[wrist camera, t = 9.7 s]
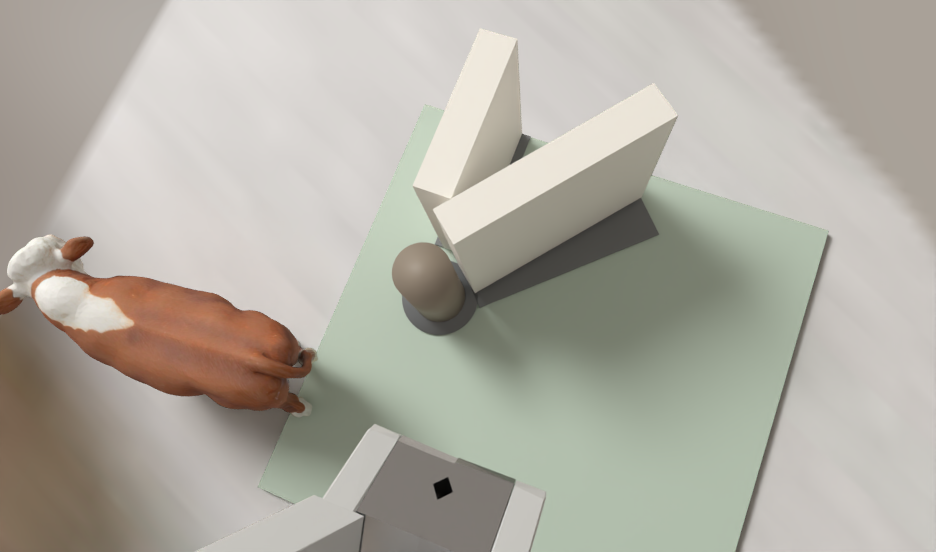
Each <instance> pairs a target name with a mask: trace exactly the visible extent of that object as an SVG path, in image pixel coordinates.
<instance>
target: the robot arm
mask: <svg viewBox="0 0 936 552" xmlns="http://www.w3.org/2000/svg"><path fill="white" fill-rule="evenodd" d="M515 480H516V479H514V478H511V477H508V476H506V475H503V474H501V473H498V472H495V471H493V470H490V469H487V468H485V467H482V466H479V465H477V464H474V463H471V462H469V461H466V460H464V459H461V458H456V457H453V456H451V455H448V454H446V453H444V452H441V451H439V450H437V449H434V448H432V447H430V446H427V445H425V444H423V443H420V442H418V441H415V440H413V439H411V438H408V437H406V436H404V435H401V434H398V433H396V432H393V431H391V430H389V429H386V428H384V427H381V426H379V425H376V424H374V425H373V426H372V427H371V428H369V429H368V430H367V432H366V433H365V435H364V436H363V438H362V439H361V441H360V442H359V444H358V445H357V447H356V448H355V450H354V451H353V453H352V454H351V456H350V457H349V459H348V460H347V462H346V463H345V465H344V466H343V468H342V469H341V471H340V472H339V474H338V475H337V477H336V478H335V480H334V481H333V483H332V484H331V486H330V488H329V489H328V491H327V492H326V494H325V495H324V497H323V498H321V497H318V496H316V495H313V496H311V497H309V498H307V499H304V500H302V501H300V502H298V503H296V504H294V505H292V506H290V507H288V508H286V509H283V510H281V511H279V512H277V513H275V514H273V515H271V516H269V517H267V518H264V519H262V520H260V521H258V522H256V523H254V524H252V525H250V526H248V527H246V528H243V529H241V530H239V531H237V532H235V533H233V534H231V535H229V536H227V537H224V538H222V539H220V540H218V541H216V542H214V543H212V544H210V545H208V546H206V547H203V548H201V549H199V550H197V551H195V552H531V549H532V545H533V542H534V538H535V535H536V531H537V528H538V524H539V521H540V517H541V514H542V510H543V507H544V503H545V500H546V491H543V490H540V489H538V488H535V487H533V486H530V485H528V484H525V483H523V482H520V481H517V480H516V482H515ZM514 483H515V484H514Z"/></svg>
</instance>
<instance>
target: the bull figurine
mask: <svg viewBox="0 0 936 552" xmlns="http://www.w3.org/2000/svg"><path fill="white" fill-rule="evenodd" d="M93 244H94V242H93V240H92V239H91V238H90V237H77V238H73V239H70V240H68V241H67V242H65V241H64V240H62V239H60V238H57V237H55V236H53V235H47V236H45V237H38V238H34V239H33V240H31V241H30V242H29V243H28V244H27V245H26V247H24V248H22V249H20V250H19V251H18V252H17V253H16V254H15V255H14V256H13V257H12V259H11V260H10V262H9V264H8V268H7V274H8V276H9V277H10V278H11V279H12V280H13V281H14V284H13V285H11V286H9V287H7V288H5V289H3V290H2V291H1V292H0V315H1V314H6V313H9V312H10V311H12V310H14V309H15V308H16V307H17V306H18V305H20V304H21V302H22V300H23V299H24V298H25V297H31V298H33V299H34V300H35V302H36V305H37V306H38V308H39V309H40V311H41V312H42V313H43V315H44V316H45V317H46V318H47V319H48V320H49V321H50V322H51V323H52V324H53V325H55V326H56V327H57V328H58V329H60V330H62V331H64V332H65V333H66V334H67V335H68V336H69V337H70V338H71V339H72V340H73V341H75V342H76V343H77V344H78V345H79V346H80V347H81V349H82V350H83V351H84V352H85V353H86V354H88V355H89V356H90V357H92V358H94V359H96V360H98V361H100V362H102V363H104V364H106V365H109V366H112V367H114V368H115V369H117V370H118V371H120V372H121V373H123V374H124V375H126V376H128V377H130V378H132V379H134V380H137V381H139V382H142V383H145V384H147V385H149V386H151V387H153V388H155V389H157V390H159V391H162V392H164V393H168V394H171V395H177V396H198V395H203V394H205V395H207V396H208V397H210V398H211V399H212V400H214V401H215V402H216V403H217V404H219V405H221V406H223V407H226V408H231V409H250V410H254V411H263V410H267V409H271V408H280V409H283V410H284V411H286V412H289V413H291V415H293V416H295V417H298V418H300V417H302V416H310V414H311V411H312V405H311V404H310V403H308V402H307V401H306V400H305V399H304V398H302V397H297V396H296V395H295V394H293V393H289V380H288V378H302V377H305V376H306V375H308V374H309V373H310V371H311V369H312V363H313V362H315V361H317V360H318V357H317V352H316V351H315V350H314V349H312V348H306V349H302V348H301V347H300V346H299V345H300V343H299V342H298V341H297V340H296V338H295V337H294V336H293V334H292V333H291V332H290V330H289V329H288V328H286V327H285V326H284V325H282V324H280V323H279V322H277V321H275V320H273V319H271V318H269V317H268V316H266V315H265V314H263V313H260V312H258V311H251V310H246V311H242V310H239V309H237V308H235V307H234V306H233V305H232V304H231V303H230V302H229V301H228V300H226V299H224V298H223V297H221V296H219V295H217V294H214V293H209V292H204V291H197V290H192V289H188V288H184V287H180V286H177V285H173V284H168V283H164V282H160V281H157V280H153V279H150V278H144V277H136V276H115V277H112V278H107V279H106V278H94V277H91V276H90V275H88V274H87V273H86V272H85V271H84V269H83V263H82V261H81V259H80V257H82V256H83V255H84V254H85V253H86V252H88V250H89V249H90V248H91V247H92V246H93ZM297 360H298V362H299V363H300V364H301V365H302V367H300V368H298V367H292V366H293V365H295V364H296V363H297Z"/></svg>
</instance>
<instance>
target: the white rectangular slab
mask: <svg viewBox="0 0 936 552" xmlns="http://www.w3.org/2000/svg"><path fill="white" fill-rule="evenodd" d="M677 117H678V115H677V113H676V112H675V111H674V109H673V108H672V107H671V105H670V104H669V103H668V101H667V100H666V99H665V97H664V96H663V95H662V93H661V92H660V91H659V89H658V88H657V86H656V85H655V84H654V83H653V84H651V85H649V86H648V87H646V88H644V89H642V90H641V91H639V92H637V93H635V94H634V95H632V96H630V97H628V98H627V99H625V100H623V101H621V102H620V103H618V104H616V105H614V106H612V107H611V108H609V109H607V110H605V111H604V112H602V113H600V114H598V115H597V116H595V117H593V118H591V119H590V120H588V121H586V122H584V123H583V124H581V125H579V126H577V127H576V128H574V129H572V130H570V131H569V132H567V133H565V134H563V135H562V136H560V137H558V138H556V139H555V140H553V141H551V142H549V143H548V144H546V145H544V146H542V147H541V148H539V149H537V150H535V151H534V152H532V153H530V154H528V155H527V156H525V157H523V158H521V159H520V160H518V161H516V162H514V163H513V164H511V165H509V166H507V167H506V168H504V169H502V170H500V171H499V172H497V173H495V174H493V175H492V176H490V177H488V178H486V179H485V180H483V181H481V182H479V183H478V184H476V185H474V186H472V187H471V188H469V189H467V190H465V191H464V192H462V193H460V194H458V195H457V196H455V197H453V198H451V199H450V200H448V201H446V202H444V203H443V204H441V205H439V206H437V207H436V208H434V209H433V211H434V213H435V216H436V218H437V220H438V222H439V224H440V226H441V228H442V231H443V233H444V235H445V237H446V239H447V241H448V243H449V246H450V248H451V250H452V252H453V254H454V256H455V258H456V260H457V263H458V265H459V267H460V269H461V270H462V272H463V274H464V275H465V277H466V279H467V281H468V282H469V284H470V286H471V287H472V289H473V291H474V292H475V293H476V292H478V291H480V290H482V289H483V288H485V287H487V286H489V285H490V284H492V283H494V282H495V281H497V280H499V279H501V278H502V277H504V276H506V275H508V274H509V273H511V272H513V271H515V270H516V269H518V268H520V267H521V266H523V265H525V264H527V263H528V262H530V261H532V260H534V259H535V258H537V257H539V256H541V255H542V254H544V253H546V252H547V251H549V250H551V249H553V248H554V247H556V246H558V245H560V244H561V243H563V242H565V241H567V240H568V239H570V238H572V237H573V236H575V235H577V234H579V233H580V232H582V231H584V230H586V229H587V228H589V227H591V226H593V225H594V224H596V223H598V222H600V221H601V220H603V219H605V218H606V217H608V216H610V215H612V214H613V213H615V212H617V211H619V210H620V209H622V208H624V207H626V206H627V205H629V204H631V203H632V202H634V201H636V200H638V199H639V198H641V197H642V196H643V193H644V191H645V189H646V187H647V184H648V182H649V180H650V178H651V175H652V173H653V171H654V169H655V166H656V164H657V162H658V160H659V157H660V155H661V153H662V151H663V148H664V146H665V144H666V142H667V139H668V137H669V135H670V133H671V131H672V128H673V126H674V124H675V122H676V119H677Z"/></svg>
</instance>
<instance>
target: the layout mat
mask: <svg viewBox="0 0 936 552" xmlns="http://www.w3.org/2000/svg"><path fill="white" fill-rule="evenodd" d="M444 111H445V110H441V109H438V108H435V107H432V106H429V105H424V108H423V110H422V112H421V114H420V117H419V119H418V121H417V124H416V126H415V128H414V130H413V133H412V135H411V137H410V140H409V142H408V144H407V147H406V149H405V151H404V153H403V156H402V158H401V160H400V163H399V165H398V167H397V169H396V172H395V174H394V176H393V179H392V181H391V183H390V185H389V188H388V190H387V192H386V195H385V197H384V199H383V201H382V204H381V206H380V208H379V211H378V213H377V215H376V218H375V220H374V222H373V224H372V227H371V229H370V231H369V234H368V236H367V238H366V240H365V243H364V245H363V247H362V250H361V252H360V254H359V256H358V259H357V261H356V263H355V266H354V268H353V270H352V272H351V275H350V277H349V279H348V282H347V284H346V286H345V288H344V291H343V293H342V295H341V298H340V300H339V302H338V305H337V307H336V309H335V311H334V314H333V316H332V318H331V321H330V323H329V325H328V327H327V330H326V332H325V334H324V337H323V339H322V341H321V343H320V346H319V348H318V350H317V357H318V360H317V361H315V362H313V363H312V369H311V371H310V373H309V374H308V375H307V376H306V378H305V380H304V382H303V385H302V387H301V389H300V392H299V394H298V396H297V397H302V398H304V399H305V400H306V401H307V402H308V403H310V404H311V405H312V411H311V414H310V416H302V417H300V418H298V417H295V416H293V415H291V413H290V414H289V417H288V419H287V421H286V424H285V426H284V428H283V430H282V433H281V435H280V437H279V440H278V442H277V444H276V447H275V449H274V451H273V453H272V456H271V458H270V460H269V463H268V465H267V467H266V469H265V472H264V474H263V476H262V479H261V481H260V483H259V485H258V488H261V489H263V490H265V491H267V492H269V493H272V494H274V495H276V496H278V497H281V498H283V499H285V500H287V501H289V502H292V503H294V504H296V503H298V502H300V501H302V500H304V499H307V498H309V497H311V496H313V495H316V496H318V497H321V498H323V497H324V495H325V494H326V492H327V491H328V489H329V488H330V486H331V484H332V483H333V481H334V480H335V478H336V477H337V475H338V474H339V472H340V471H341V469H342V468H343V466H344V465H345V463H346V462H347V460H348V459H349V457H350V456H351V454H352V453H353V451H354V450H355V448H356V447H357V445H358V444H359V442H360V441H361V439H362V438H363V436H364V435H365V433H366V432H367V430H368V429H369V428H371V427H372V426H373V425H374V424H376V425H379V426H381V427H384V428H386V429H389V430H391V431H393V432H396V433H398V434H401V435H404V436H406V437H408V438H411V439H413V440H415V441H418V442H420V443H423V444H425V445H427V446H430V447H432V448H434V449H437V450H439V451H441V452H444V453H446V454H448V455H451V456H453V457H456V458H461V459H464V460H466V461H469V462H471V463H474V464H477V465H479V466H482V467H485V468H487V469H490V470H493V471H495V472H498V473H501V474H503V475H506V476H508V477H511V478H514V479H516V480H517V481H520V482H523V483H525V484H528V485H530V486H533V487H535V488H538V489H540V490H543V491H546V500H545V503H544V507H543V510H542V514H541V517H540V521H539V524H538V528H537V531H536V535H535V538H534V542H533V545H532V549H531V552H735V550H736V547H737V544H738V540H739V537H740V533H741V530H742V526H743V523H744V520H745V516H746V513H747V509H748V506H749V502H750V499H751V496H752V492H753V489H754V485H755V482H756V478H757V475H758V472H759V468H760V465H761V461H762V458H763V454H764V451H765V448H766V444H767V441H768V437H769V434H770V430H771V427H772V424H773V420H774V417H775V413H776V410H777V406H778V403H779V400H780V396H781V393H782V389H783V386H784V382H785V379H786V376H787V372H788V369H789V365H790V362H791V358H792V355H793V352H794V348H795V345H796V341H797V338H798V334H799V331H800V328H801V324H802V321H803V317H804V314H805V310H806V307H807V304H808V300H809V297H810V293H811V290H812V286H813V283H814V280H815V276H816V273H817V269H818V266H819V262H820V259H821V256H822V252H823V249H824V245H825V242H826V238H827V235H828V232H829V231H828V230H825V229H822V228H818V227H815V226H812V225H809V224H806V223H802V222H799V221H796V220H793V219H790V218H786V217H783V216H780V215H777V214H774V213H770V212H767V211H764V210H761V209H758V208H754V207H751V206H748V205H745V204H742V203H738V202H735V201H732V200H729V199H726V198H722V197H719V196H716V195H713V194H710V193H707V192H703V191H700V190H697V189H694V188H691V187H687V186H684V185H681V184H678V183H675V182H671V181H668V180H665V179H662V178H659V177H655V176H652V175H651V178H650V180H649V182H648V184H647V187H646V189H645V191H644V193H643V196H642V197H641V198H639V199H638V200H636V201H634V202H632V203H631V204H629V205H627V206H626V207H624V208H622V209H620V210H619V211H617V212H615V213H613V214H612V215H610V216H608V217H606V218H605V219H603V220H601V221H600V222H598V223H596V224H594V225H593V226H591V227H589V228H587V229H586V230H584V231H582V232H580V233H579V234H577V235H575V236H573V237H572V238H570V239H568V240H567V241H565V242H563V243H561V244H560V245H558V246H556V247H554V248H553V249H551V250H549V251H547V252H546V253H544V254H542V255H541V256H539V257H537V258H535V259H534V260H532V261H530V262H528V263H527V264H525V265H523V266H521V267H520V268H518V269H516V270H515V271H513V272H511V273H509V274H508V275H506V276H504V277H502V278H501V279H499V280H497V281H495V282H494V283H492V284H490V285H489V286H487V287H485V288H483V289H482V290H480V291H478V292H476V293H475V292H474V291H473V289H472V287H471V286H470V284H469V282H468V281H467V279H466V277H465V275H464V274H463V272H462V270H461V269H460V267H459V265H458V263H457V260H456V258H455V256H454V254H453V252H452V250H449V249H446V248H444V247H443V245H442V243H441V241H440V239H439V237H438V236H437V234H436V232H435V230H434V228H433V226H432V224H431V222H430V220H429V218H428V216H427V214H426V212H425V210H424V208H423V206H422V204H421V202H420V200H419V198H418V196H417V194H416V192H415V190H414V188H413V183H414V181H415V179H416V176H417V174H418V172H419V169H420V167H421V165H422V162H423V160H424V158H425V155H426V153H427V151H428V148H429V146H430V144H431V141H432V139H433V137H434V134H435V132H436V130H437V127H438V125H439V123H440V120H441V118H442V116H443V113H444ZM546 144H548V143H547V142H544V141H540V140H537V139H534V138H531V137H530V136H527V135H524V134H522V135H521V138H520V140H519V143H518V145H517V148H516V150H515V153H514V155H513V158H512V160H511V163H510V165H511V164H513V163H514V162H516V161H518V160H520V159H521V158H523V157H525V156H527V155H528V154H530V153H532V152H534V151H535V150H537V149H539V148H541V147H542V146H544V145H546ZM420 242H427V243H431V244H434V245H437V246H438V247H440V248H441V249H442V250H443V251H444V252H445V253H446V254H447V255H448V257H449V259H450V261H451V263H452V265H453V267H454V269H455V271H456V273H457V275H458V277H459V279H460V281H461V283H462V285H463V287H464V290H465V302H464V305H463V307H462V309H461V311H460V312H459V313H458V314H457V315H456V316H455V317H454V318H452V319H450V320H448V321H444V322H434V321H430V320H428V319H426V318H425V317H423V316H422V315H421V314H420V313H419V312H418V311H417V310H416V309H415V308H414V307H413V306H412V305H411V304H410V303H409V302H408V301H407V299H406V298H405V297H404V296H403V295H402V294H401V293H400V292H399V291H398V290H397V288H396V287H395V285H394V282H393V279H392V267H393V263H394V261H395V259H396V257H397V256H398V254H399V253H400V252H401V251H402V250H403V249H404V248H406V247H408V246H409V245H412V244H415V243H420ZM516 480H515V482H516ZM514 484H515V483H514Z"/></svg>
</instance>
